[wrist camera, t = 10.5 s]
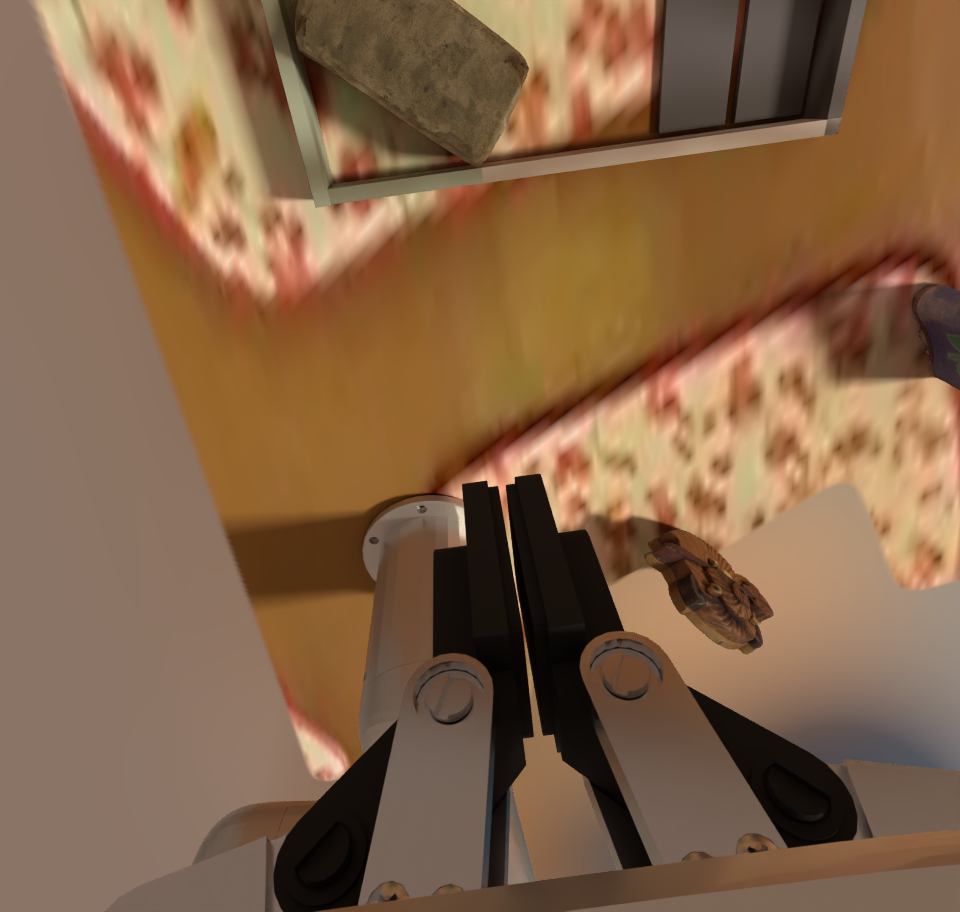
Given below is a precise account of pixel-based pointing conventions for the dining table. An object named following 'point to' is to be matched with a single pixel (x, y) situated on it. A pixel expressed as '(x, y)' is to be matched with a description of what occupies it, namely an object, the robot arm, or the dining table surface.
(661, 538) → the wooden carving
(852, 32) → the box
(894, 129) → the dining table surface
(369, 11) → the stone block
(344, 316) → the dining table surface
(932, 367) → the flask
